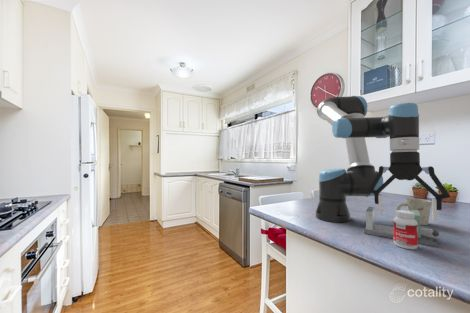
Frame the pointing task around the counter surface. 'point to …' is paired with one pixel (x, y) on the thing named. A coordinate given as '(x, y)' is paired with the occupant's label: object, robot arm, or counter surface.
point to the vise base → (390, 229)
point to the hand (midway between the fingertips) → (405, 217)
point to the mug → (418, 208)
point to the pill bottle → (405, 230)
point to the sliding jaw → (423, 230)
